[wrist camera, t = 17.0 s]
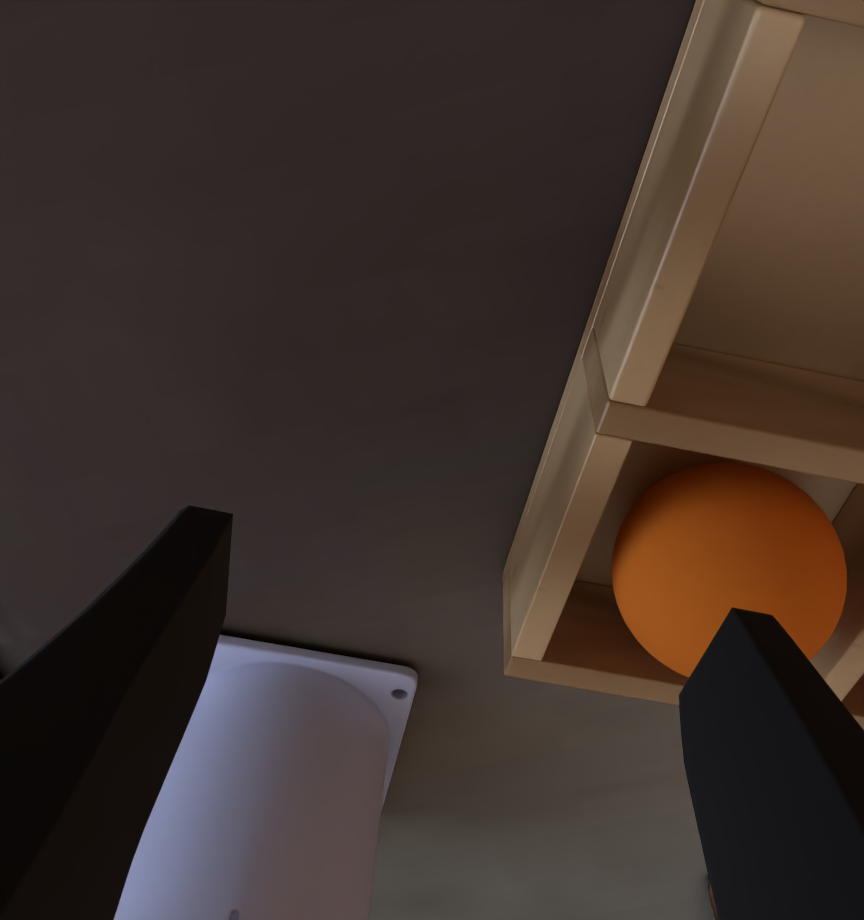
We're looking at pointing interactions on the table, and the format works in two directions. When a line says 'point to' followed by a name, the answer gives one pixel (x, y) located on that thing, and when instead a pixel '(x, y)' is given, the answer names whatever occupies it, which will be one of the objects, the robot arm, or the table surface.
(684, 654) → the rack clementine
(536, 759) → the table surface
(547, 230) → the table surface
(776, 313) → the tray
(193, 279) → the table surface
